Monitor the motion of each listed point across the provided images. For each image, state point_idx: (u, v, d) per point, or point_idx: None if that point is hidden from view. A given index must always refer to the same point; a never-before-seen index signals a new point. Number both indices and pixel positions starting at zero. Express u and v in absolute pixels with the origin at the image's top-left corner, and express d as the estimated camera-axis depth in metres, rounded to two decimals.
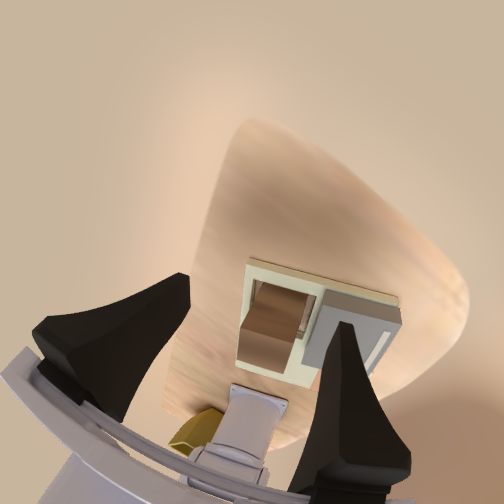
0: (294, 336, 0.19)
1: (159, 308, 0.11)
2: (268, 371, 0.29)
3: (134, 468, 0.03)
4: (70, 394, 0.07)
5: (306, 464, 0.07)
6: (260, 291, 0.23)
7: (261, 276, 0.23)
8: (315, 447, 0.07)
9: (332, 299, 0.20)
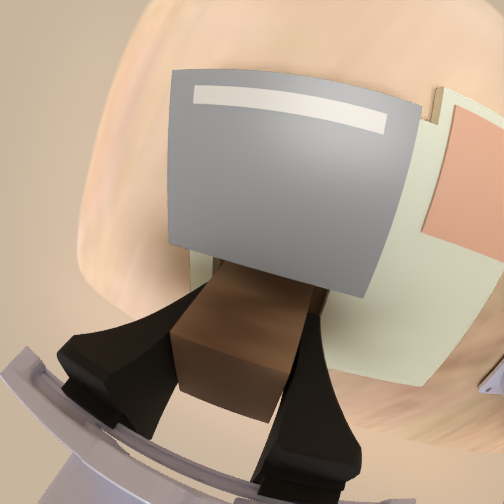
0: (180, 320, 0.09)
1: None
2: (441, 341, 0.11)
3: (134, 468, 0.03)
4: (103, 418, 0.06)
5: (263, 453, 0.08)
6: None
7: None
8: (271, 436, 0.08)
9: None
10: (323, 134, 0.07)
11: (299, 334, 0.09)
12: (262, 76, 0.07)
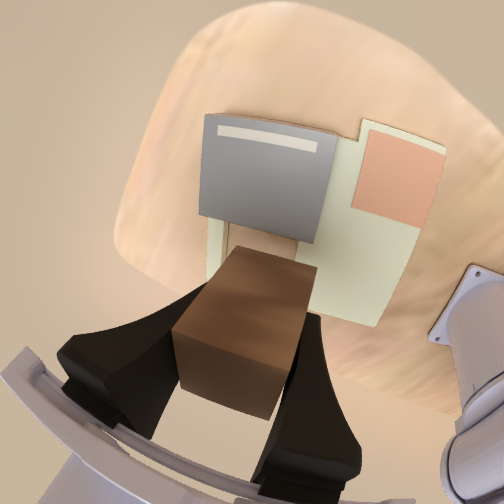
0: (182, 318, 0.09)
1: None
2: (380, 286, 0.18)
3: (134, 468, 0.03)
4: (103, 418, 0.06)
5: (264, 453, 0.08)
6: None
7: (215, 266, 0.22)
8: (271, 436, 0.08)
9: None
10: (285, 153, 0.14)
11: (299, 332, 0.09)
12: (254, 123, 0.14)
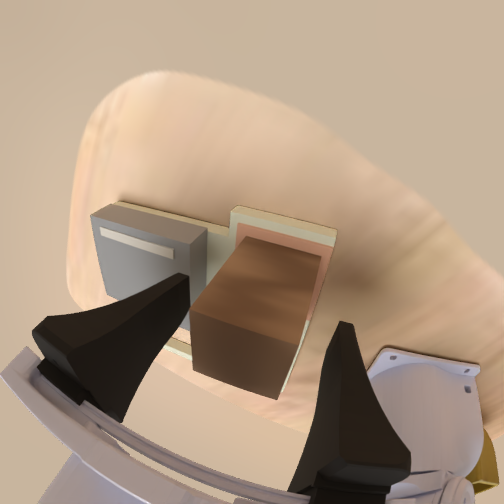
0: (198, 299, 0.10)
1: (159, 308, 0.11)
2: None
3: (134, 468, 0.03)
4: (70, 394, 0.07)
5: (306, 464, 0.07)
6: None
7: None
8: (315, 447, 0.07)
9: None
10: (151, 257, 0.15)
11: (306, 311, 0.10)
12: (123, 227, 0.15)
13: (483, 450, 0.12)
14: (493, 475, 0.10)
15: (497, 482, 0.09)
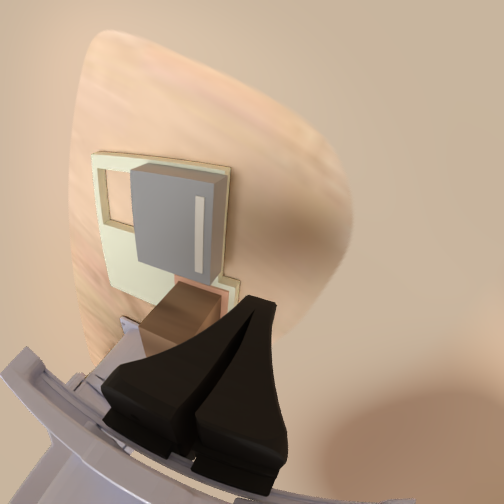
0: None
1: (239, 338, 0.10)
2: (135, 289, 0.26)
3: (134, 468, 0.03)
4: (157, 450, 0.06)
5: None
6: (170, 291, 0.22)
7: (102, 163, 0.20)
8: None
9: (144, 167, 0.18)
10: (189, 249, 0.19)
11: None
12: (209, 229, 0.17)
13: None
14: None
15: None
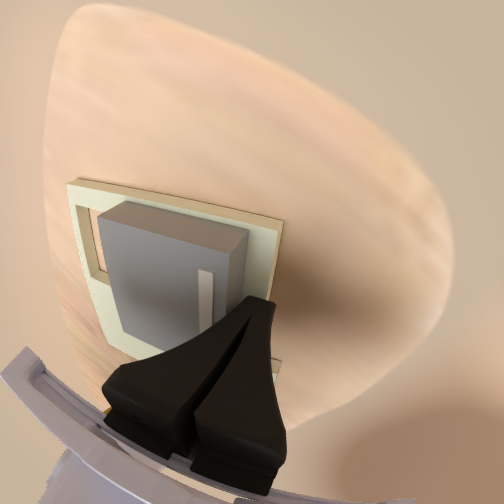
0: None
1: (240, 338, 0.10)
2: (139, 354, 0.20)
3: (134, 468, 0.03)
4: (158, 451, 0.06)
5: None
6: None
7: (80, 198, 0.14)
8: None
9: (119, 211, 0.12)
10: (192, 334, 0.12)
11: None
12: (221, 316, 0.11)
13: None
14: None
15: None
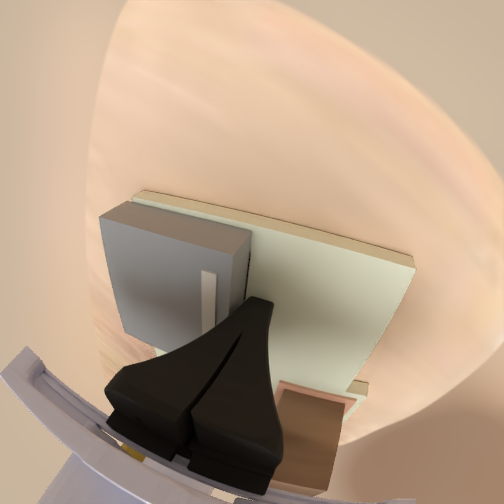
0: (328, 479, 0.10)
1: None
2: None
3: (134, 468, 0.03)
4: (161, 452, 0.06)
5: None
6: (280, 408, 0.14)
7: None
8: None
9: (121, 211, 0.11)
10: (194, 335, 0.12)
11: None
12: (224, 317, 0.11)
13: None
14: None
15: None
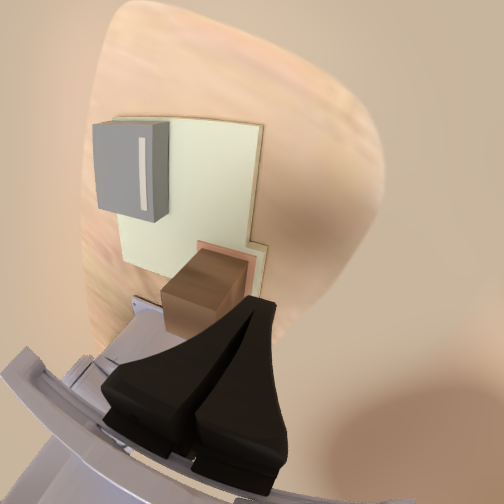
0: (218, 303, 0.17)
1: (239, 338, 0.10)
2: (151, 262, 0.25)
3: (134, 468, 0.03)
4: (157, 450, 0.06)
5: None
6: (194, 257, 0.21)
7: None
8: None
9: (104, 122, 0.18)
10: (136, 188, 0.19)
11: None
12: (150, 166, 0.18)
13: None
14: None
15: None
